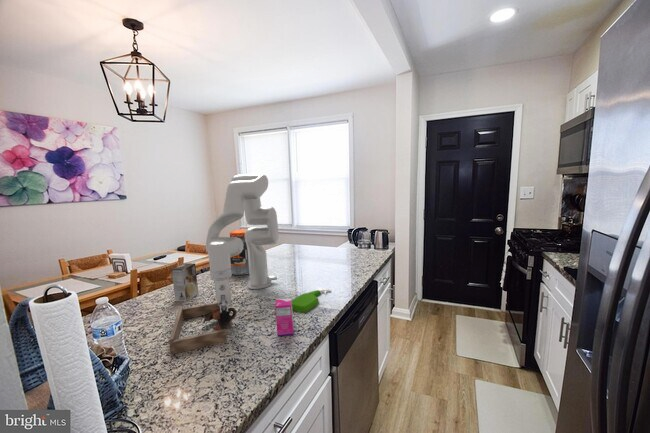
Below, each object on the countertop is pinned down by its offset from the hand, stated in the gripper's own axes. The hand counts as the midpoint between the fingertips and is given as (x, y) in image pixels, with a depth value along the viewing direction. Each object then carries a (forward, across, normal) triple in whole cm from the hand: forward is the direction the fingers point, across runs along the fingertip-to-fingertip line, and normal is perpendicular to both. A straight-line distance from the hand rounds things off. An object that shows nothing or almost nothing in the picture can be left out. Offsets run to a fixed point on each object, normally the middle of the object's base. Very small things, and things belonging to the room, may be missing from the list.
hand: (224, 316), depth 105 cm
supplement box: (+4, -16, -20) cm, 26 cm away
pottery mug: (+4, 0, +1) cm, 4 cm away
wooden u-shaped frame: (+3, +1, +8) cm, 9 cm away
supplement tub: (+3, +65, -13) cm, 67 cm away
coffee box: (+3, +37, +16) cm, 40 cm away
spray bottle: (+4, +6, -38) cm, 38 cm away
